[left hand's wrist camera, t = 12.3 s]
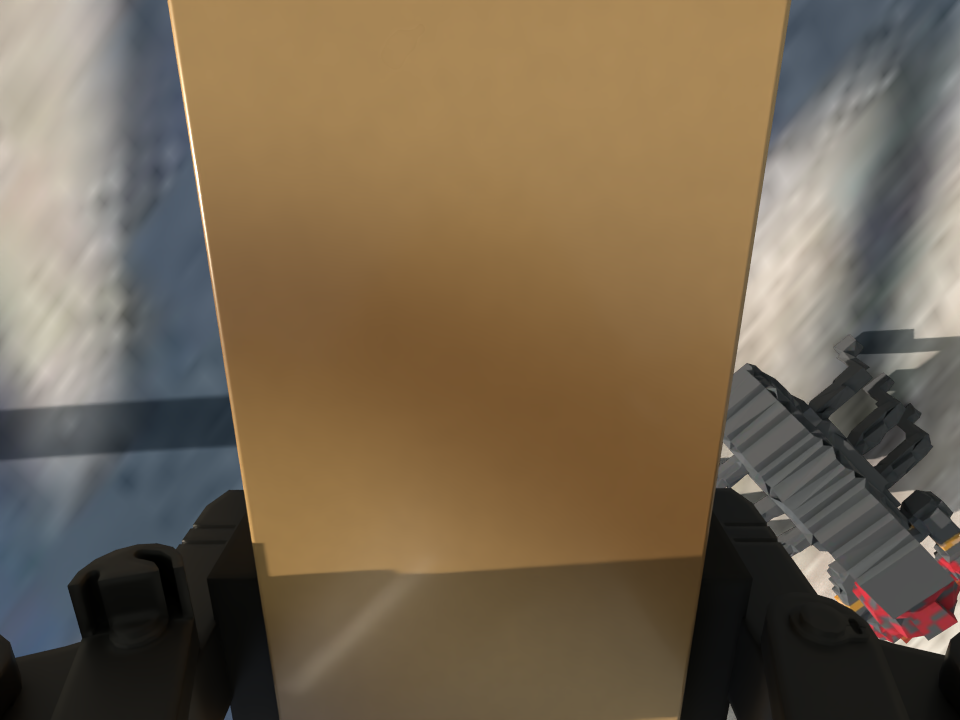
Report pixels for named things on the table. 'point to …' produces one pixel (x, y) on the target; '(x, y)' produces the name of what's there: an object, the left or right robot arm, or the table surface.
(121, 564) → the left robot arm
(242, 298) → the board
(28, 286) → the table surface
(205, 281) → the table surface
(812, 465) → the toy
